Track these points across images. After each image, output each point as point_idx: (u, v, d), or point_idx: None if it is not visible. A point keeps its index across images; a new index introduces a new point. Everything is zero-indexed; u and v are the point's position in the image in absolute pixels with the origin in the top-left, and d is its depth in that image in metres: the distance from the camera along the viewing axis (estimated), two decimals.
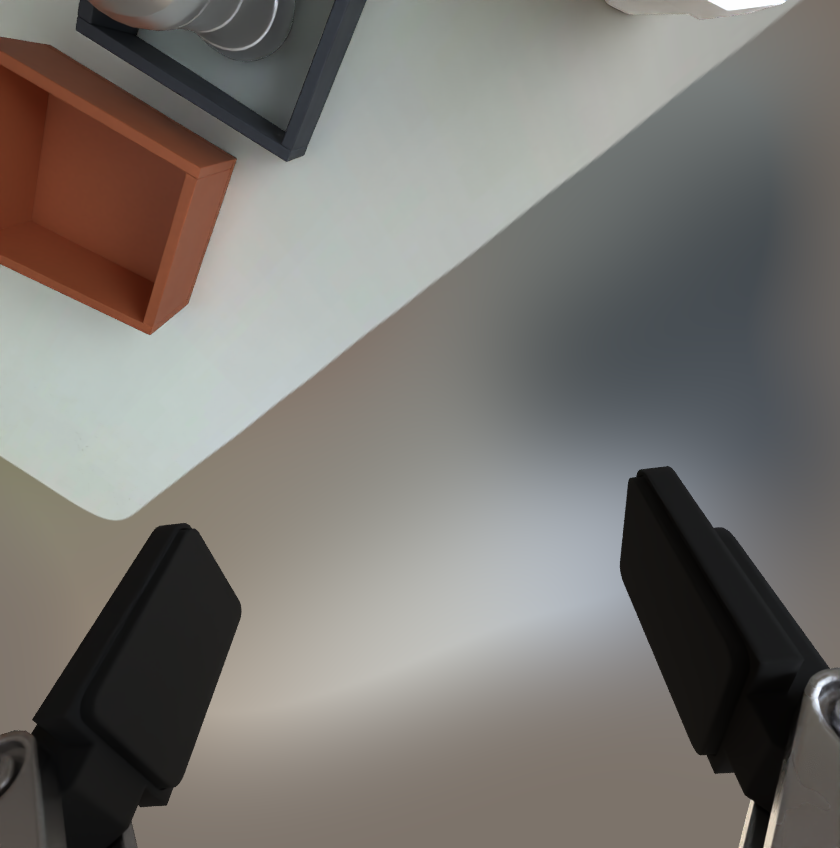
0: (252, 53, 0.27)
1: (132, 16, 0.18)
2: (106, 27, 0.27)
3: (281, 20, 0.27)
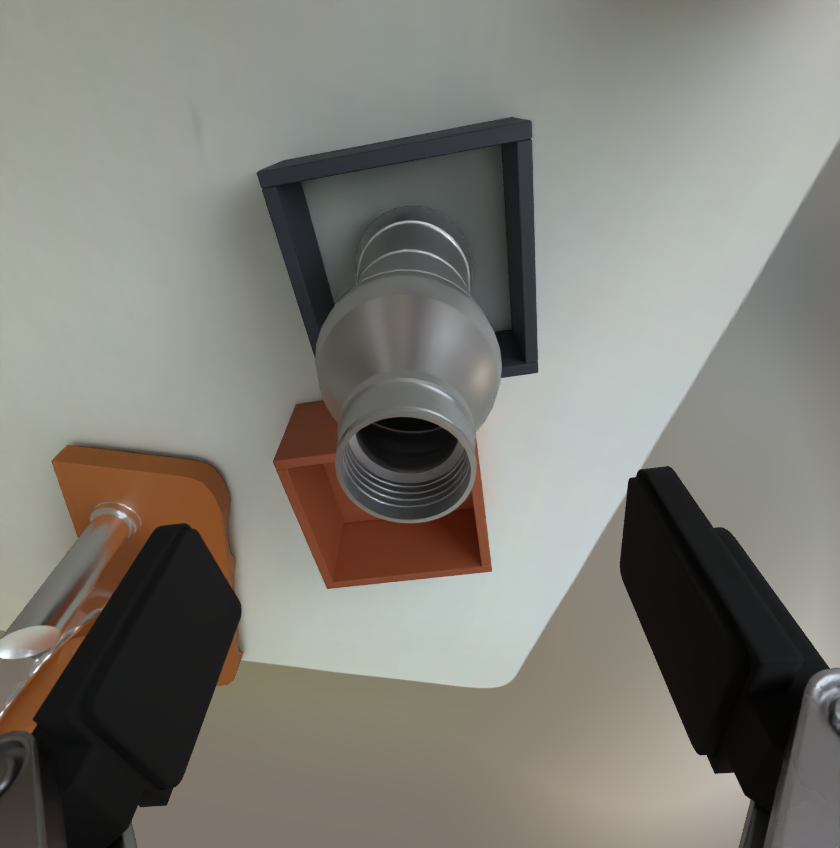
0: None
1: None
2: None
3: (471, 268, 0.25)
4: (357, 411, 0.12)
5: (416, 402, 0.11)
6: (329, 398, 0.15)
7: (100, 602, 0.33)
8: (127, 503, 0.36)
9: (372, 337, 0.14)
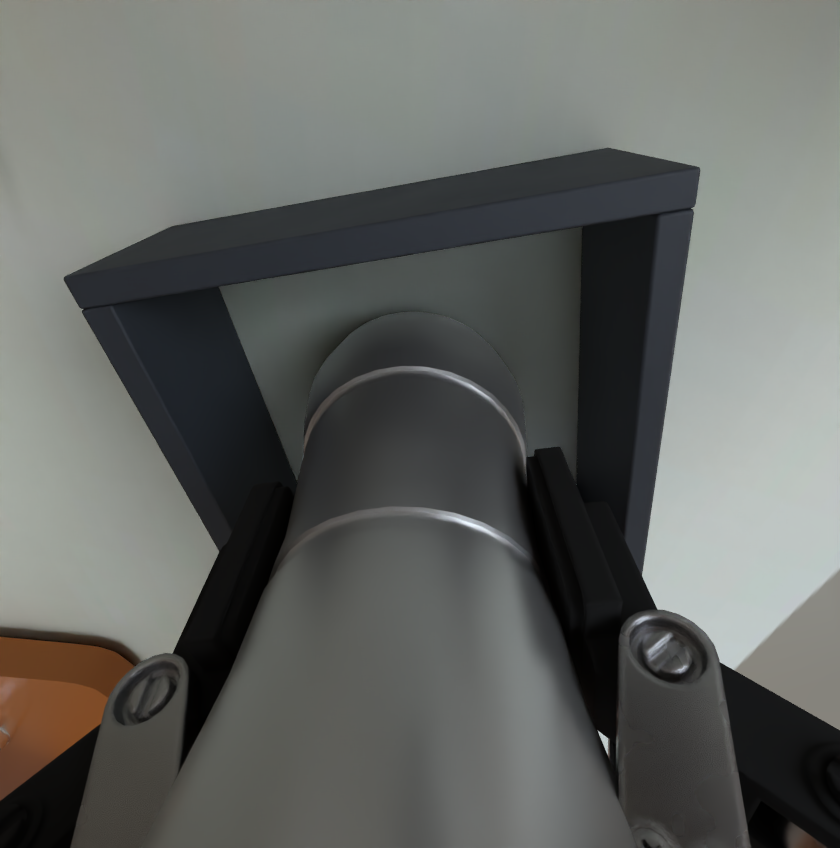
0: None
1: None
2: None
3: None
4: None
5: None
6: None
7: None
8: None
9: None
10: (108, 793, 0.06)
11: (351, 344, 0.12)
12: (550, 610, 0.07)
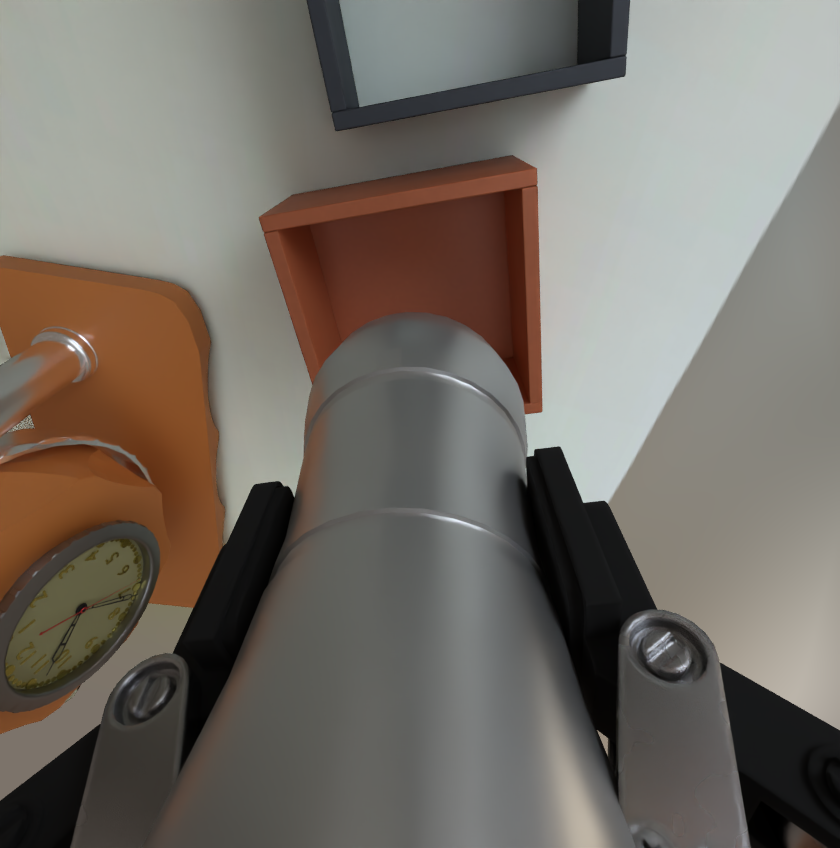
0: None
1: None
2: (351, 108, 0.22)
3: (526, 437, 0.13)
4: None
5: None
6: None
7: (36, 438, 0.25)
8: (78, 331, 0.28)
9: None
10: (108, 793, 0.06)
11: (351, 345, 0.12)
12: (550, 612, 0.07)
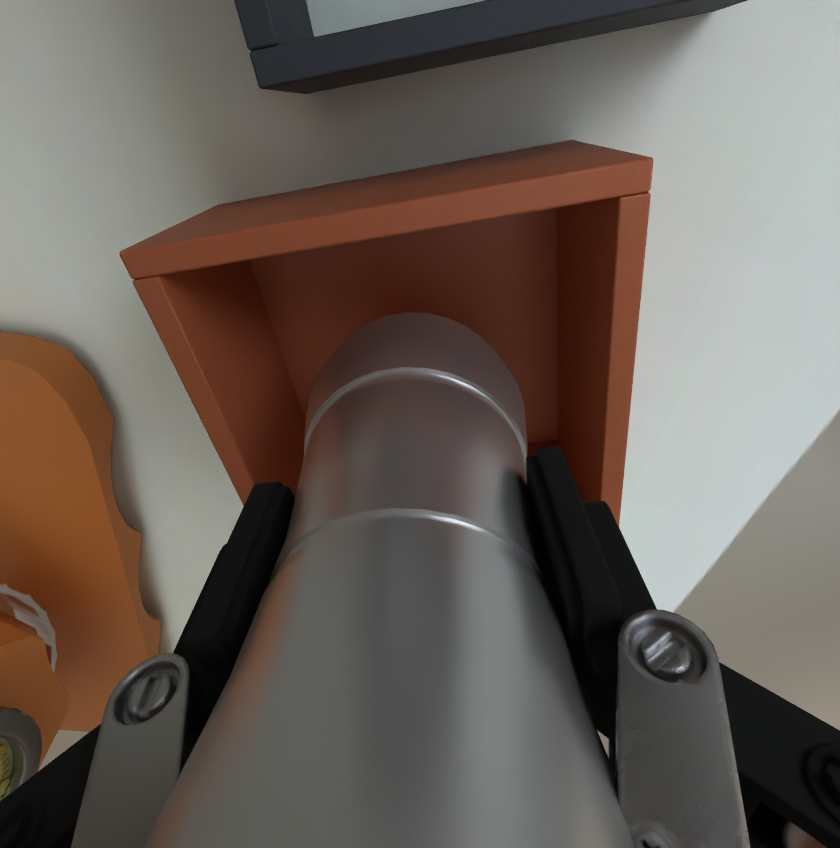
0: None
1: None
2: None
3: None
4: None
5: None
6: None
7: None
8: None
9: None
10: (108, 792, 0.06)
11: (352, 345, 0.12)
12: (551, 612, 0.07)
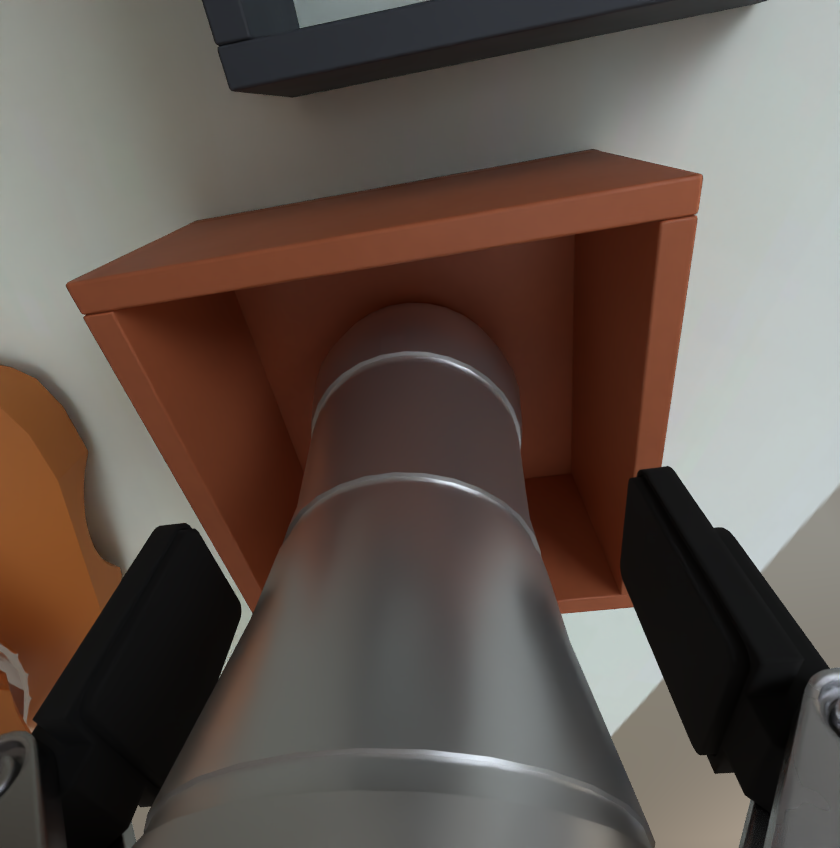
0: None
1: None
2: None
3: (521, 420, 0.14)
4: None
5: None
6: None
7: None
8: None
9: None
10: None
11: (356, 332, 0.13)
12: (539, 565, 0.08)
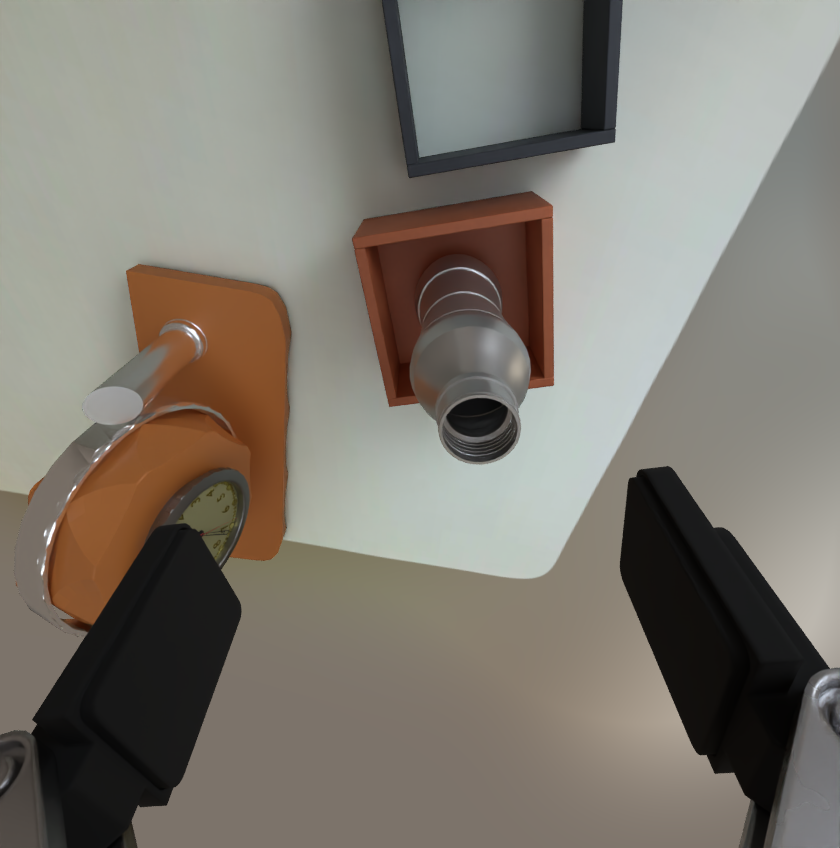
0: None
1: None
2: (418, 160, 0.30)
3: None
4: (453, 395, 0.20)
5: (488, 390, 0.20)
6: (422, 390, 0.24)
7: (172, 402, 0.34)
8: (195, 323, 0.37)
9: (455, 352, 0.22)
10: None
11: (436, 263, 0.33)
12: None
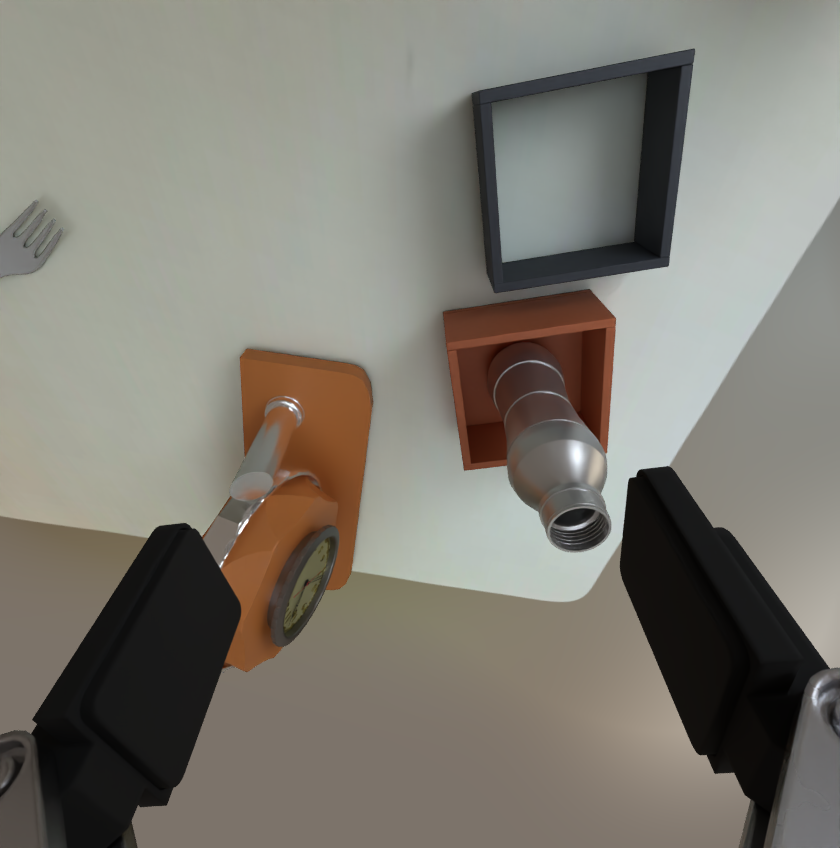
0: None
1: None
2: None
3: None
4: (559, 503, 0.26)
5: (587, 500, 0.26)
6: (523, 487, 0.30)
7: (285, 472, 0.40)
8: (295, 398, 0.43)
9: (553, 462, 0.28)
10: None
11: (509, 353, 0.39)
12: None
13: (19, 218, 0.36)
